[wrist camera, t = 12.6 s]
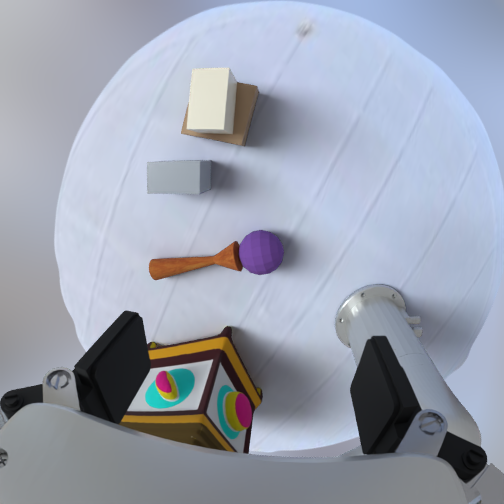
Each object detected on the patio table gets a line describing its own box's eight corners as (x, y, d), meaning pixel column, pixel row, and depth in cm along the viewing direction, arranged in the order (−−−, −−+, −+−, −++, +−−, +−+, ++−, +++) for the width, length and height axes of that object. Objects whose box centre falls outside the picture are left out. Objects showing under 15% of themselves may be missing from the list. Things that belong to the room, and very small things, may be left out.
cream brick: (205, 81, 30) (192, 68, 24) (237, 81, 30) (229, 67, 24) (201, 133, 32) (186, 129, 27) (232, 134, 32) (223, 129, 26)
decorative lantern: (185, 404, 54) (146, 518, 26) (139, 336, 49) (60, 458, 20) (272, 393, 50) (262, 532, 22) (235, 315, 45) (189, 488, 17)
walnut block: (258, 92, 34) (256, 85, 30) (244, 146, 36) (241, 145, 32) (203, 83, 34) (195, 76, 30) (190, 135, 36) (180, 133, 33)
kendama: (140, 254, 38) (276, 228, 34) (160, 248, 44) (281, 225, 40) (149, 293, 39) (284, 276, 35) (168, 283, 45) (288, 266, 40)
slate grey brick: (211, 160, 37) (200, 161, 31) (210, 188, 38) (199, 194, 33) (165, 160, 38) (147, 162, 32) (165, 187, 39) (147, 193, 33)
